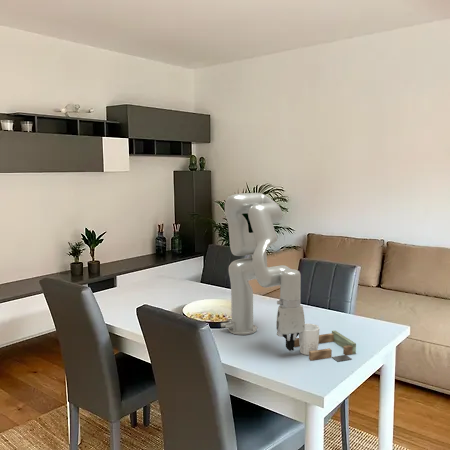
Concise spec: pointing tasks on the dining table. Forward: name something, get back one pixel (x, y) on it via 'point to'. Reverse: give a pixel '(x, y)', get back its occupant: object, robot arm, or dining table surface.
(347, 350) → the brown and green pieces
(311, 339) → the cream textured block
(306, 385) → the dining table surface
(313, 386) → the dining table surface
